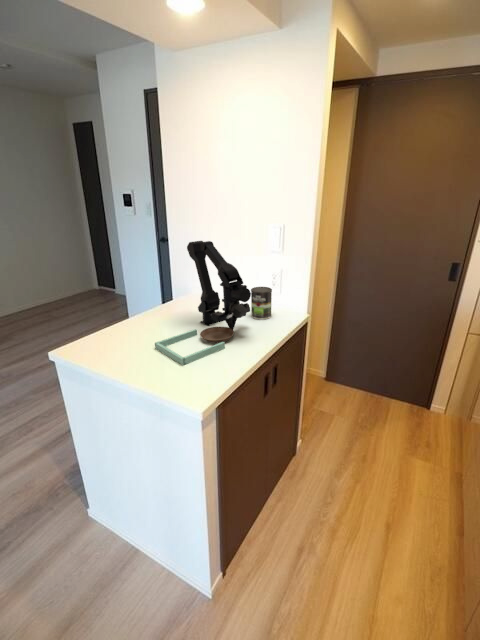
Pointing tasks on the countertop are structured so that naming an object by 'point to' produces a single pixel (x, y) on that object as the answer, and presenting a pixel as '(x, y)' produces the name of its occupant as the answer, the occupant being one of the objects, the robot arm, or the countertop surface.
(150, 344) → the countertop surface
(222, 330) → the saucer
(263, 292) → the coffee can
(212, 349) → the tray
